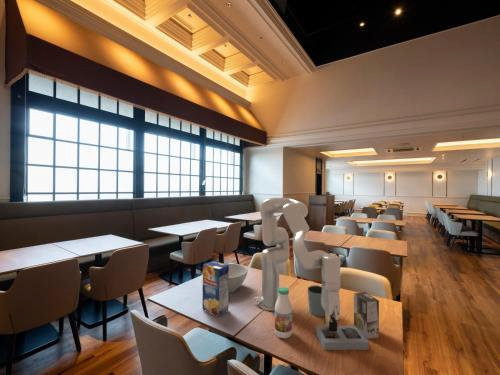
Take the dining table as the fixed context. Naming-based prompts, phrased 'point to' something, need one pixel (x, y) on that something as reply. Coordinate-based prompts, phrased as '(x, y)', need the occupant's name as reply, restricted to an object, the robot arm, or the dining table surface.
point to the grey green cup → (315, 300)
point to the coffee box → (366, 315)
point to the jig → (342, 338)
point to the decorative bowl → (236, 276)
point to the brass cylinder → (327, 319)
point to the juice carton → (215, 287)
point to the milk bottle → (283, 314)
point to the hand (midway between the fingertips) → (330, 326)
